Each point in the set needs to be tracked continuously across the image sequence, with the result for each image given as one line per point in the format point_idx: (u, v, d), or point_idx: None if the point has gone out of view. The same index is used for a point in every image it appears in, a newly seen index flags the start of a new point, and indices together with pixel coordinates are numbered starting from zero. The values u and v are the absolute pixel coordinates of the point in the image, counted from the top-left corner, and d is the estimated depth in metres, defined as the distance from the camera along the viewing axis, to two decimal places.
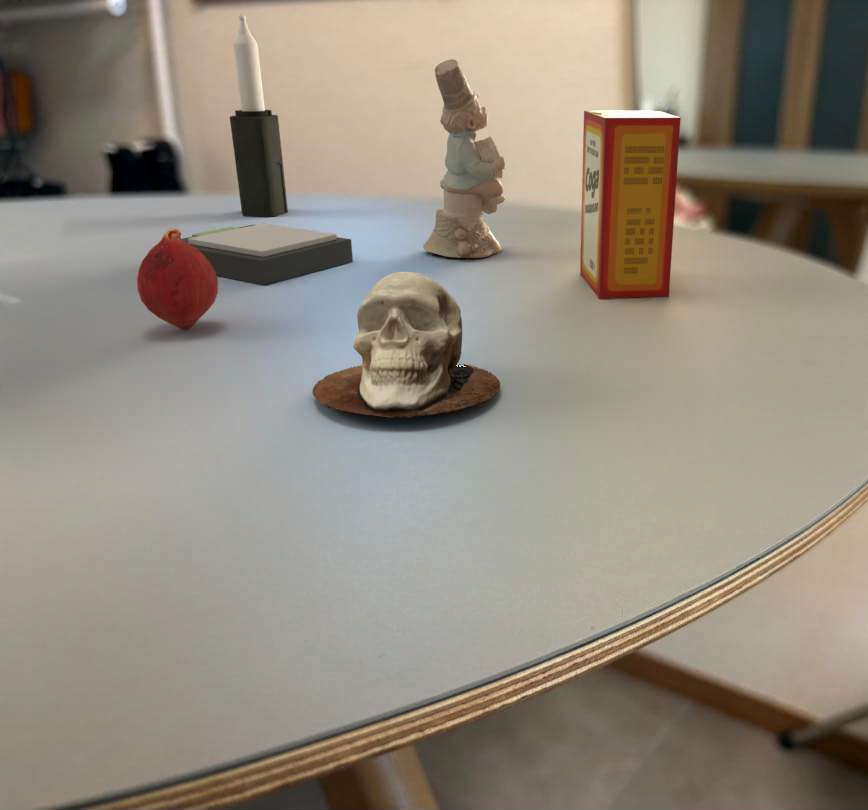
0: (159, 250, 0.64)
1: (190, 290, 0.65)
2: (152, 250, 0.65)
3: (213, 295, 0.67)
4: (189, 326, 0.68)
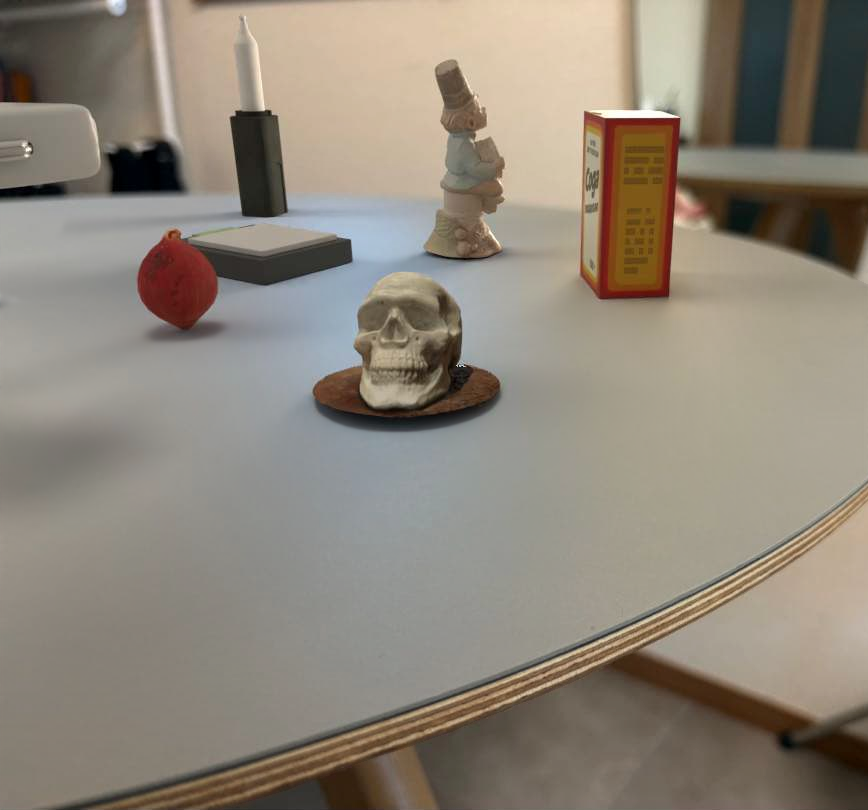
0: (159, 250, 0.64)
1: (190, 290, 0.65)
2: (152, 250, 0.65)
3: (213, 295, 0.67)
4: (189, 326, 0.68)
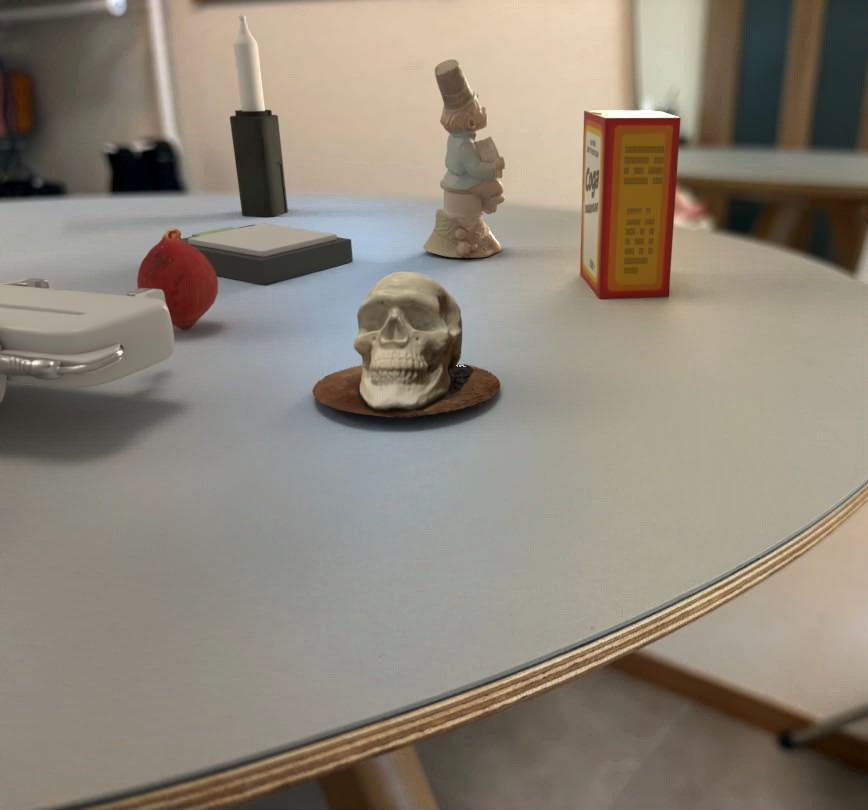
0: (159, 250, 0.64)
1: (190, 290, 0.65)
2: (152, 250, 0.65)
3: (213, 295, 0.67)
4: (189, 326, 0.68)
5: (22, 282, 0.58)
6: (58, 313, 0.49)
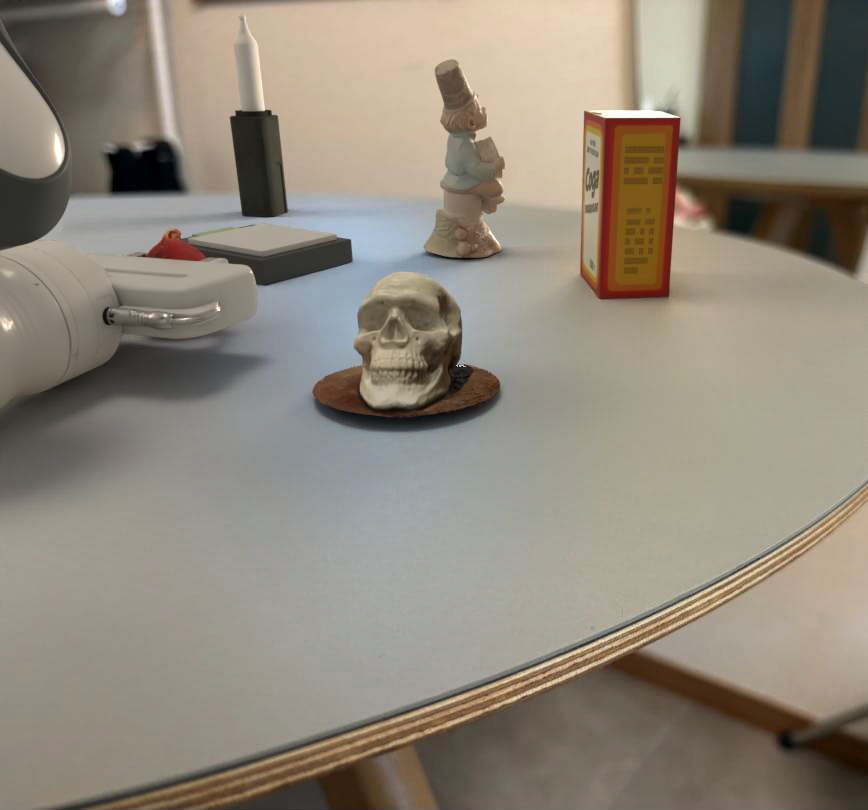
0: (159, 250, 0.64)
1: None
2: (152, 250, 0.65)
3: None
4: None
5: (130, 255, 0.66)
6: (162, 276, 0.58)
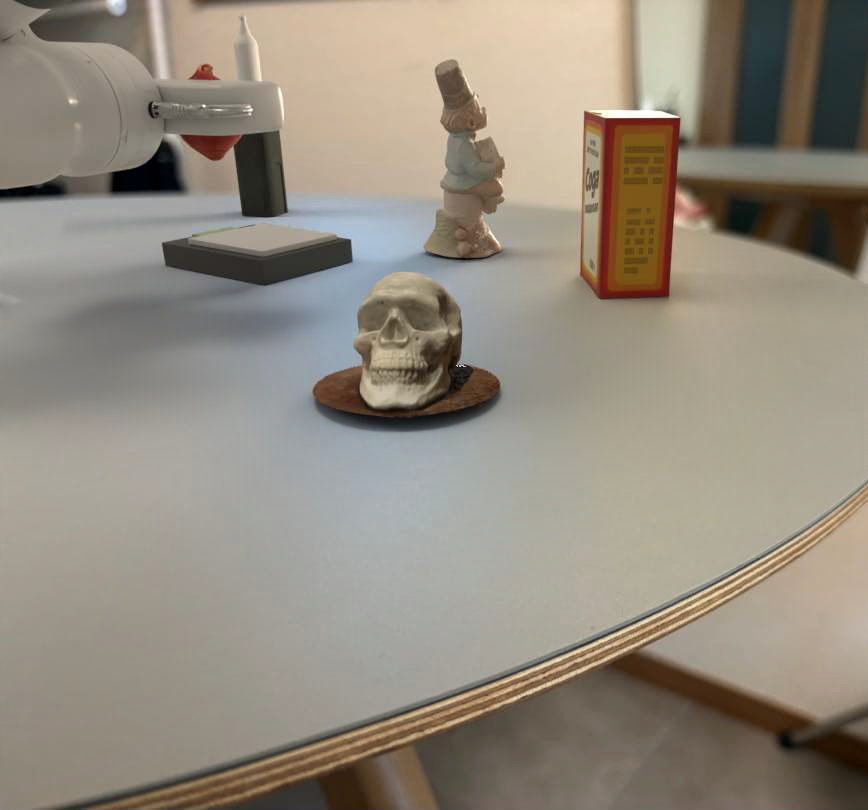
0: None
1: None
2: None
3: None
4: (219, 157, 0.74)
5: None
6: None
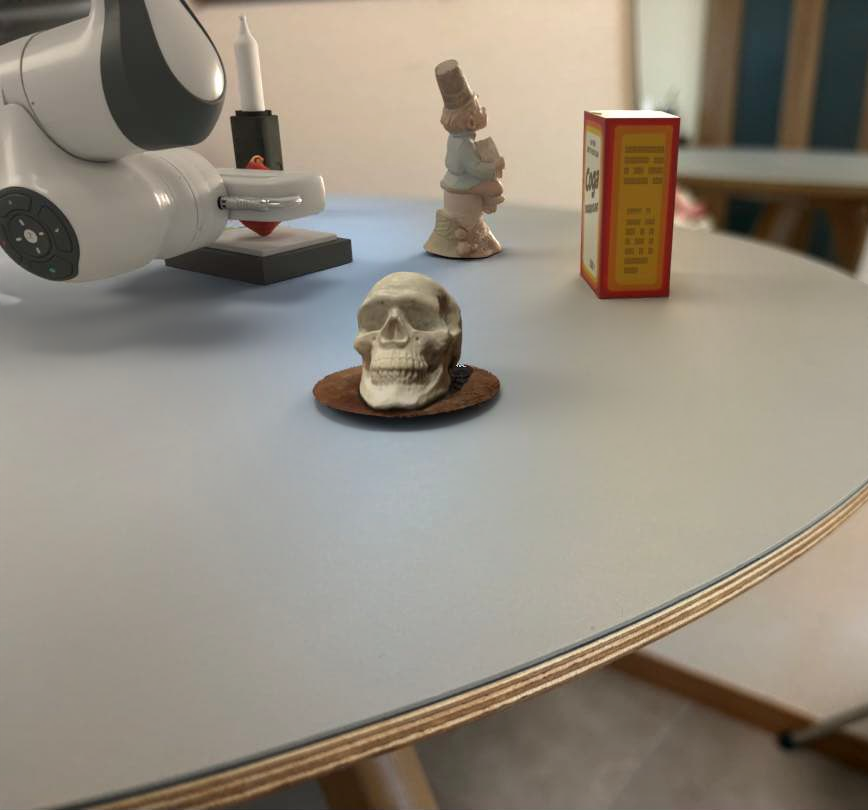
0: None
1: None
2: None
3: None
4: (268, 233, 0.87)
5: None
6: (256, 178, 0.77)
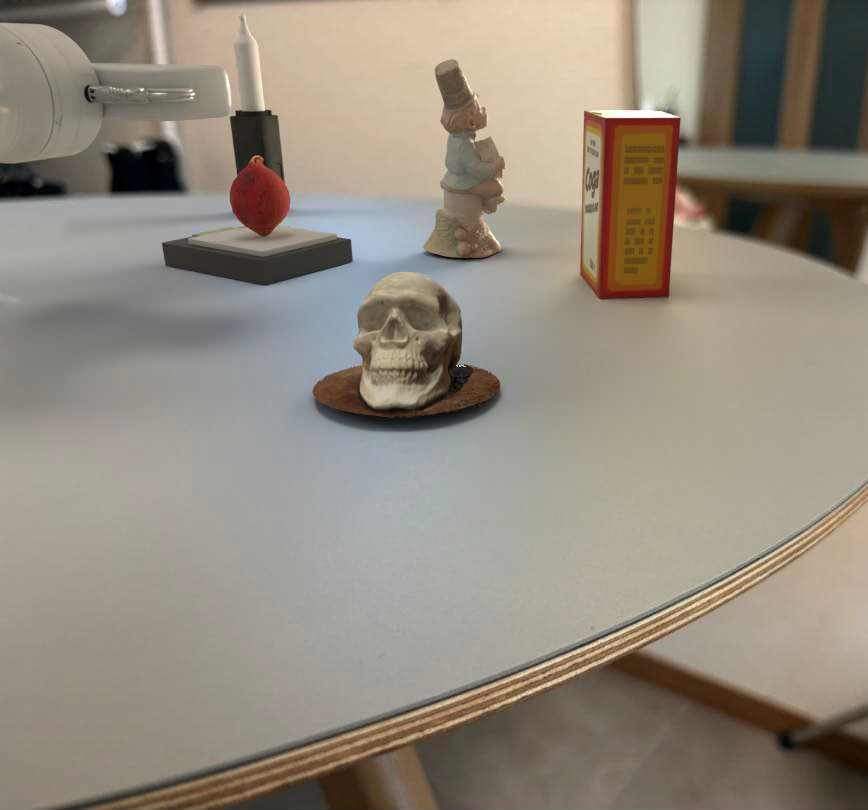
0: (248, 171, 0.84)
1: (271, 202, 0.84)
2: (242, 172, 0.84)
3: (287, 208, 0.86)
4: (267, 233, 0.87)
5: None
6: None
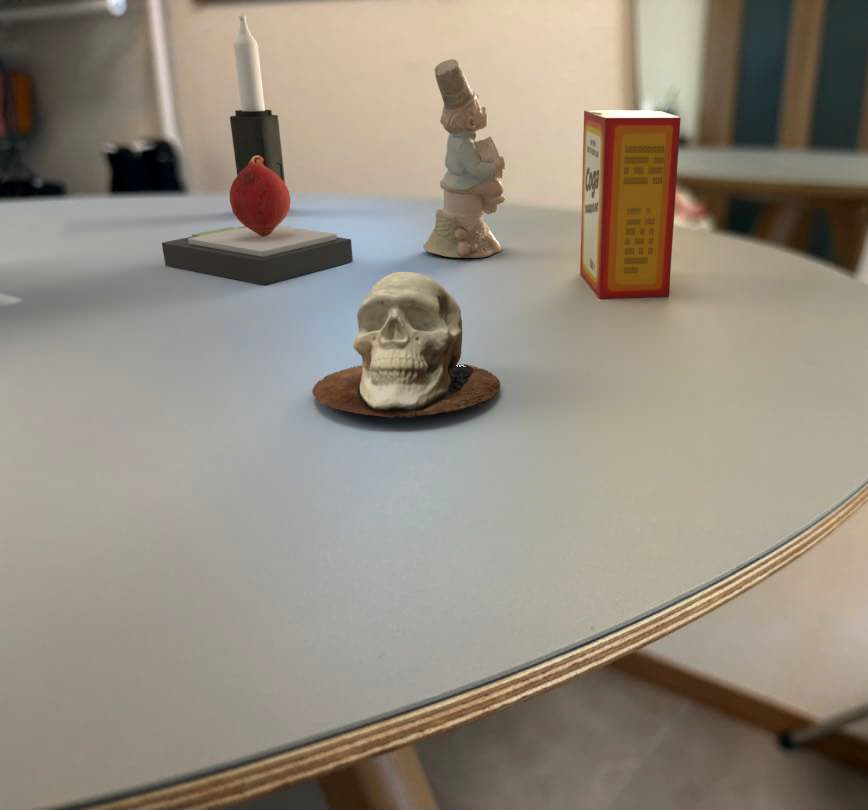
0: (248, 171, 0.84)
1: (271, 202, 0.84)
2: (242, 172, 0.84)
3: (287, 208, 0.86)
4: (268, 233, 0.87)
5: None
6: None
